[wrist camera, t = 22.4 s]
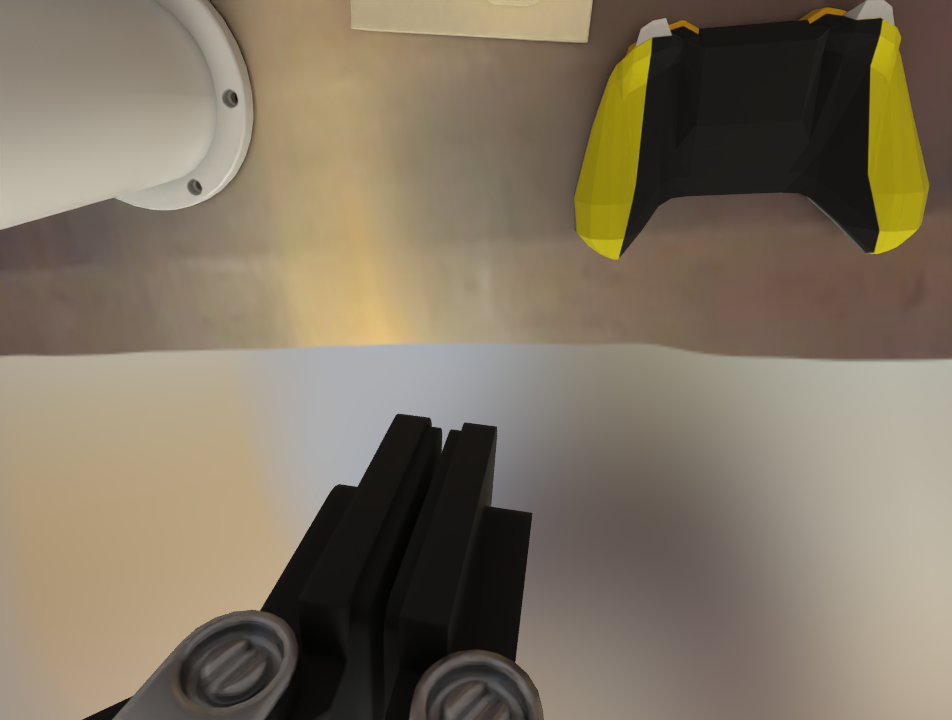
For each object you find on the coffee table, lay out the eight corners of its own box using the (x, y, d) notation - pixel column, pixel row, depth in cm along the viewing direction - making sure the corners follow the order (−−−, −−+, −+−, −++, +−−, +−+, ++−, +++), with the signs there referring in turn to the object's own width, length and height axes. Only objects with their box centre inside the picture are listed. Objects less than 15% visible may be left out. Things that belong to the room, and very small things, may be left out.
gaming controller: (877, 229, 31) (925, -1, 26) (932, 260, 26) (1003, -15, 21) (574, 238, 33) (574, 30, 29) (573, 268, 28) (572, 23, 24)
